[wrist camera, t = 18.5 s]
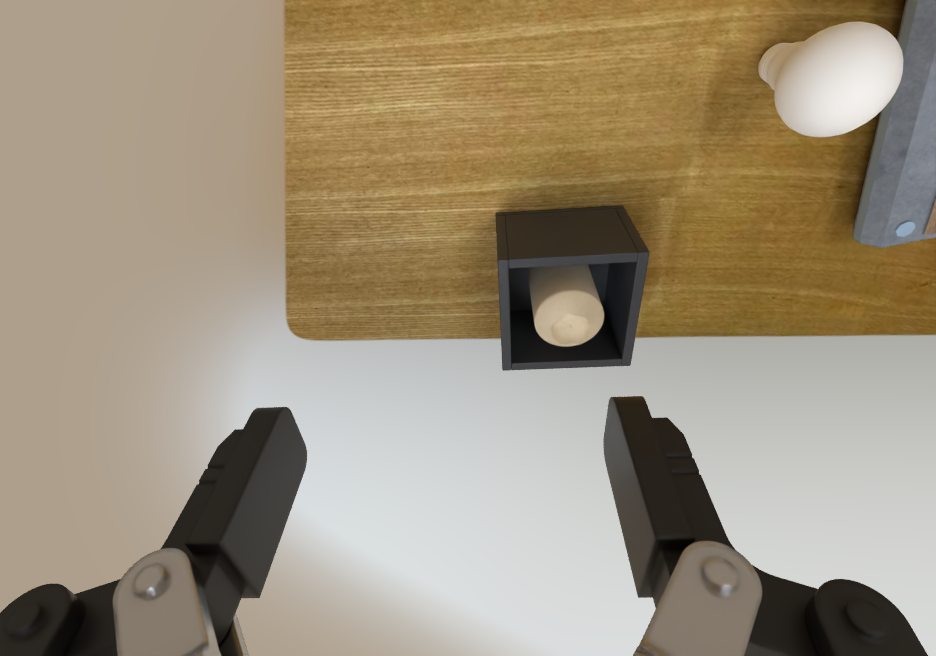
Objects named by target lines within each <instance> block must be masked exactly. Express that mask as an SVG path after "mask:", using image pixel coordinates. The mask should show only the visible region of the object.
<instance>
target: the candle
mask: <svg viewBox="0 0 936 656" xmlns="http://www.w3.org/2000/svg"><path fill="white" fill-rule="evenodd" d="M527 272H528V281H529V288H530V295H531V303H532V310H533V317H534V324H535V329H536V331H537V333H538V334H539V336H540V337H541V338H542V339H543V340H545V341H546V342H548V343H550V344H553V345H556V346H563V347H568V346H575V345H579V344H582V343H584V342H586V341H588V340H590V339H591V338H592V337H594V336H595V335H596V334H597V333H598V331H599V330H600V328H601V327H602V324H603V321H604V310H603V307H602V304H601V301H600V298H599V296H598V293H597V290H596V287H595V284H594V281H593V278H592V275H591V272H590V269H589V266H588V264H587V265H568V266H549V267H529V268H527Z"/></svg>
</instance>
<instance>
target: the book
mask: <svg viewBox="0 0 936 656" xmlns="http://www.w3.org/2000/svg"><path fill="white" fill-rule="evenodd" d="M897 42H898V43H899V45H900V47H901V50H902V54H903V59H904V60H903V73H902V77H901V81H900V84H899V86H898V88H897V90H896V92H895V94H894V95H893V97H892V98H891V100H890V101H889V103H888V104H887V105H886V106H885V107H884V109H883V110H881V111H880V115H879V119H878V123H877V128H876V132H875V136H874V141H873V145H872V149H871V154H870V158H869V162H868V167H867V171H866V175H865V180H864V184H863V188H862V193H861V197H860V201H859V206H858V210H857V214H856V219H855V223H854V227H853V239H855V240H856V241H857V242H859V243H862V244H867V245H871V246H875V247H880V248H883V247H888V246H893V245H898V244H903V243H908V242H913V241H919V240H924V239H929V238H934V237H936V0H906V2H905V6H904V10H903V15H902V19H901V23H900V28H899V32H898V36H897Z"/></svg>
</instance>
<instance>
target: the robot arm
mask: <svg viewBox="0 0 936 656" xmlns="http://www.w3.org/2000/svg"><path fill="white" fill-rule="evenodd" d="M604 455H605V462H606V467H607V471H608V475H609V479H610V483H611V487H612V491H613V495H614V500H615V504H616V508H617V512H618V516H619V520H620V524H621V528H622V533H623V536H624V541H625V545H626V549H627V553H628V557H629V561H630V565H631V570H632V573H633V578H634V582H635V586H636V590H637V594H638V597H653V599H654V603H655V607H656V610H655V612H654V615H653V617H652V619H651V621H650V624H649V625H648V628H647V630H646V632H645V634H644V636H643V639H642V640H641V643H640V645H639V646H638V647H637V649H636V651H635V653H634V655H633V656H928V655H927V653H926V652H925V650H924V648H923V646H922V645H921V643H920V641H919V640H918V638H917V636H916V635H915V633H914V631H913V629H912V628H911V626H910V624H909V623H908V621H907V620H906V618H905V617H904V615H903V614H902V613H901V612H900V611H899V610H898V608H897V607H896V606H895V605H894V604H892V602H890V601H889V600H888V599H887V598H885V597H884V596H883V595H882V594H880V593H878V592H877V591H875V590H874V589H872V588H870V587H868V586H866V585H864V584H861V583H858V582H855V581H851V580H845V579H835V580H830V581H828V582H826V583H824V584H823V585H822V586H820V587H819V589H816V588H812V587H809V586H806V585H802V584H799V583H796V582H792V581H789V580H786V579H782V578H779V577H775V576H773V575H770V574H767V573H765V572H763V571H761V570H759V569H758V568H756V567H754V566H753V565H751V564H750V563H749V561H748V560H747V559H746V558H745V557H744V556H743V555H741V554H740V553H739V552H737V551H736V550H735V549H734V547H733V546H732V545H731V543H730V542H729V540H728V538H727V536H726V534H725V531H724V529H723V527H722V524H721V522H720V520H719V517H718V515H717V512H716V510H715V508H714V505H713V503H712V501H711V498H710V496H709V493H708V491H707V489H706V486H705V484H704V482H703V479H702V477H701V475H699V470H698V468H697V465H696V463H695V460H694V459H693V458H692V453H691V451H690V448H689V446H688V444H687V442H686V439H685V437H684V434H683V433H682V432H680V430H679V429H678V428H677V427H676V426H675V425H674V424H673V423H672V422H671V421H670V420H669V419H668V418H652V417H651V415H650V412H649V409H648V406H647V404H646V401H645V399H644V398H643V397H642V396H634V397H611V398H610V400H609V405H608V412H607V419H606V426H605V433H604ZM306 462H307V450H306V446H305V443H304V441H303V438H302V436H301V434H300V431H299V429H298V426H297V424H296V422H295V419H294V417H293V415H292V413H291V410H290V409H289V408H287V407H278V408H277V407H274V408H257V409H255V410H254V411H253V412H252V414H251V416H250V417H249V419H248V421H247V423H246V425H245V427H244V429H242V430H234V431H233V432H232V433H231V434H230V435H229V436H228V437H227V438H226V439H225V440H224V441H223V442H222V443H221V444H220V445H219V446H218V447H217V449H216V451H215V453H214V455H213V457H212V458H211V460H210V462H209V464H208V469H205V471H204V473H203V475H202V476H201V478H200V480H199V485H197V486H196V487H195V489H194V491H193V493H192V495H191V496H190V498H189V500H188V502H187V504H186V506H185V507H184V509H183V511H182V513H181V514H180V516H179V518H178V520H177V522H176V524H175V525H174V527H173V529H172V531H171V533H170V535H169V536H168V538H167V540H166V542H165V543H164V545H163V546H162V548H161V549H160V550H157V551H154V552H152V553H150V554H148V555H146V556H145V557H143V558H141V559H140V560H139V561H137V562H136V563H135V564H134V565H133V566H132V567H131V568H129V570H128V571H127V572H126V573H125V574H124V576H123V577H122V578H121V579H119V580H117V581H114V582H111V583H108V584H105V585H102V586H98V587H95V588H92V589H90V590H86V591H83V592H80V593H77V594H73V593H72V592H71V591H69V590H68V589H67V588H66V587H64V586H63V585H60V584H46V585H42V586H39V587H37V588H34V589H32V590H30V591H28V592H27V593H24V594H23V595H21V596H20V597H18V598H17V599H16V600H14V601H13V602H12V603H10V604H9V605H8V606H7V607H6V608H5V609H4V610H3V611H2V612H1V613H0V656H249V654H248V651H247V648H246V644H245V641H244V638H243V634H242V631H241V627H240V624H239V621H238V618H237V616H236V614H235V613H236V610H237V607H238V605H239V602H240V600H241V598H260V595H261V592H262V589H263V587H264V584H265V581H266V578H267V575H268V572H269V570H270V567H271V564H272V561H273V558H274V555H275V553H276V550H277V547H278V544H279V542H280V539H281V536H282V533H283V530H284V527H285V524H286V522H287V519H288V516H289V513H290V511H291V508H292V505H293V502H294V499H295V496H296V494H297V491H298V488H299V485H300V482H301V480H302V477H303V474H304V471H305V468H306Z"/></svg>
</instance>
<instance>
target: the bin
mask: <svg viewBox="0 0 936 656" xmlns="http://www.w3.org/2000/svg"><path fill="white" fill-rule="evenodd" d="M496 233H497V255H498V278H499V301H500V324H501V346H502V369H503V370H525V369H553V368H578V367H604V366H630V364H631V359H632V352H633V347H634V341H635V335H636V329H637V323H638V317H639V311H640V306H641V300H642V294H643V288H644V282H645V276H646V270H647V264H648V258H649V251H648V249H647V247H646V245H645V244H644V242H643V240H642V238H641V237H640V235H639V233H638V231H637V230H636V228H635V226H634V224H633V223H632V221H631V219H630V217H629V216H628V214H627V212H626V210H625V209H624V207H623V206H605V207H588V208H572V209H555V210H538V211H522V212H505V213H496ZM587 264H588V266H589V269H590V272H591V275H592V278H593V281H594V284H595V287H596V290H597V293H598V296H599V298H600V301H601V304H602V307H603V310H604V321H603V324H602V327H601V328H600V330H599V331H598V333H597V334H596V335H595V336H594V337H592V338H591V339H590V340H588V341H586V342H584V343H582V344H579V345H575V346H568V347H563V346H556V345H553V344H550V343H548V342H546V341H545V340H543V339H542V338H541V337H540V336H539V334H538V333H537V331H536V329H535V324H534V317H533V310H532V303H531V295H530V288H529V281H528V272H527V268H529V267H549V266H568V265H587Z"/></svg>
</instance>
